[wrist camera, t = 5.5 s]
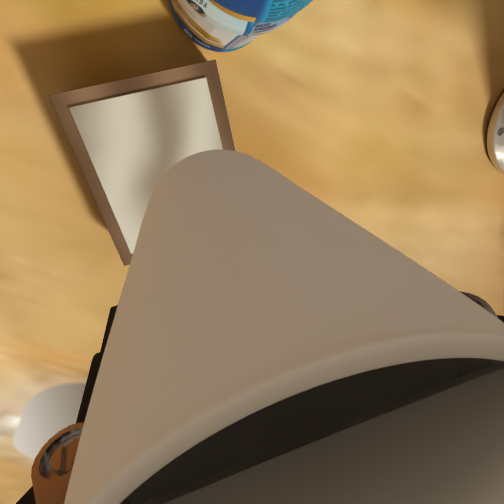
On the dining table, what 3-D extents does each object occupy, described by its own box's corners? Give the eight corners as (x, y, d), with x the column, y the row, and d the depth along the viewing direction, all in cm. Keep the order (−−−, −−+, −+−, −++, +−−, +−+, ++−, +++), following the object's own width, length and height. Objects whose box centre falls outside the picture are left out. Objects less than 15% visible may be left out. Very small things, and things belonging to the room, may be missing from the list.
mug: (135, 135, 12) (-76, 389, 2) (301, 145, 14) (709, 311, 3) (149, 343, 17) (111, 779, 6) (275, 333, 18) (419, 665, 8)
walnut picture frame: (209, 64, 27) (215, 59, 24) (243, 215, 34) (252, 230, 30) (64, 95, 26) (47, 95, 22) (128, 247, 33) (123, 266, 29)
